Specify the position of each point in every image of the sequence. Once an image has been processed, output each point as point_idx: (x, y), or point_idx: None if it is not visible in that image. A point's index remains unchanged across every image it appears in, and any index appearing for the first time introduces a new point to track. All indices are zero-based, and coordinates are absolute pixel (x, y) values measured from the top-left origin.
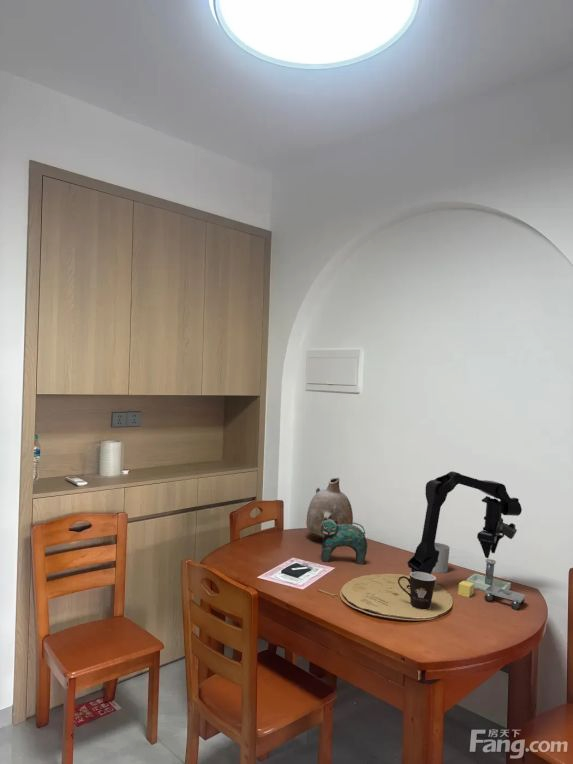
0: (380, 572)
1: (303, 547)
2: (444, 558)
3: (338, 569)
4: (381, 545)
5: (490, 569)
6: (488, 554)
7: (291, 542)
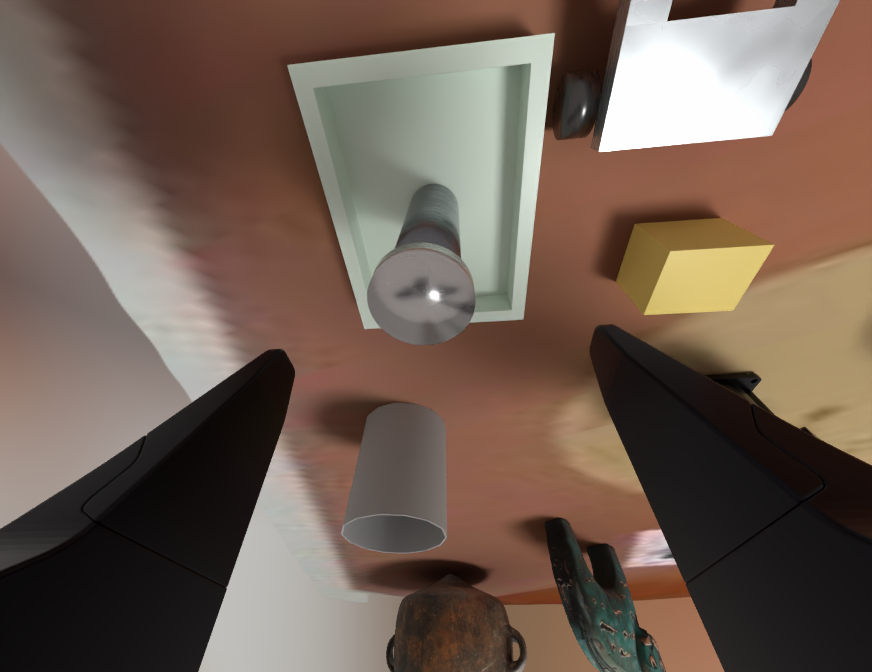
0: (600, 487)
1: (540, 575)
2: (421, 465)
3: (651, 525)
4: None
5: (457, 248)
6: (662, 357)
7: (527, 585)
